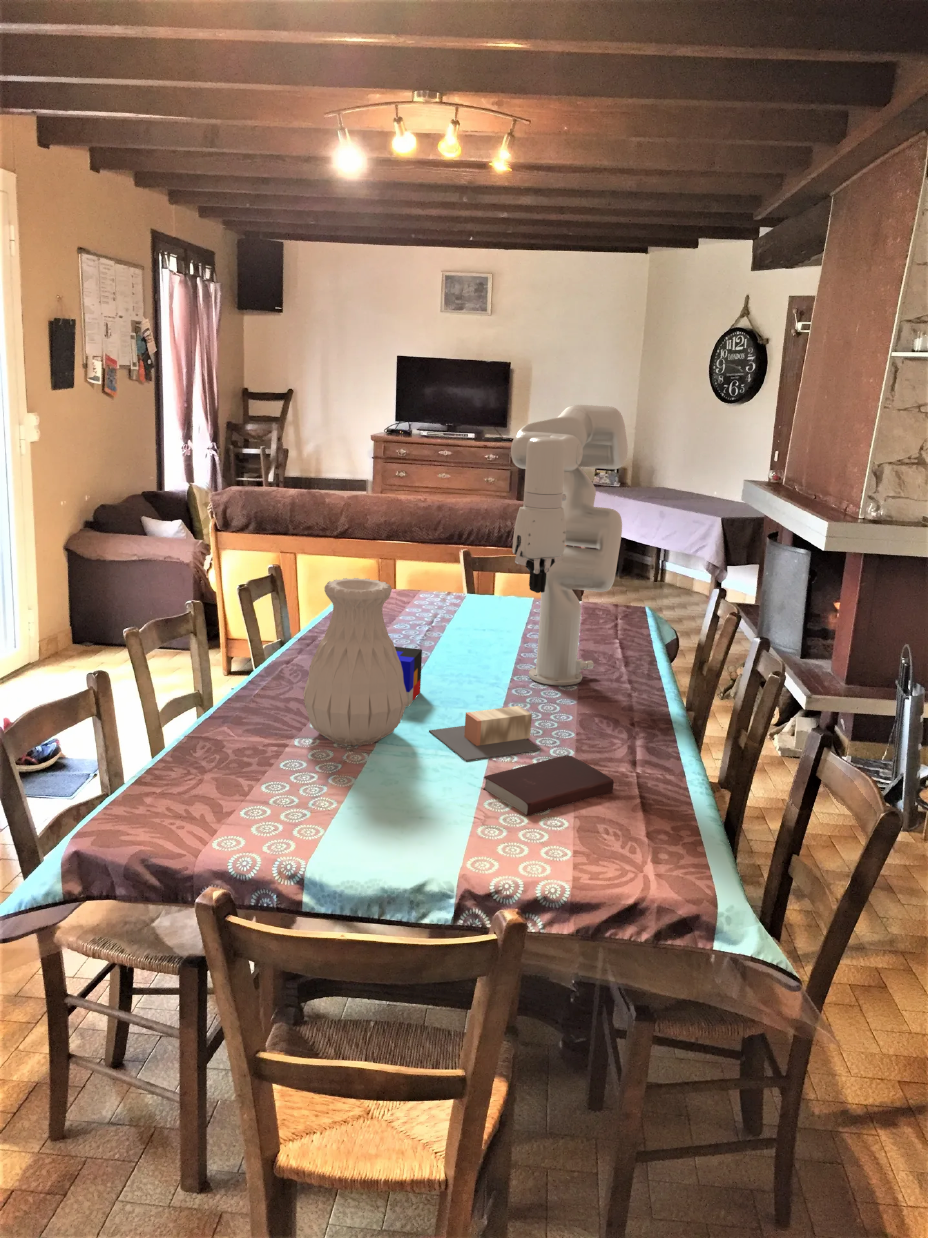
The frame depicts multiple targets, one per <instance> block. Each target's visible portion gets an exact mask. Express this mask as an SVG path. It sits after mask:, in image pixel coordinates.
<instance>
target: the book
mask: <svg viewBox="0 0 928 1238" xmlns="http://www.w3.org/2000/svg"><path fill="white" fill-rule="evenodd" d="M483 779H485V783H484V787H483V788H482V791H486V790H487V791H486V792H488V793H490V794H492V796H495V797H497V798H498V799H500V800H501V801H503V802H505V803H507V804H508V805H510V806H511V807H514V808H515V809H517V810H518V811H520V812H521V813H523V814H525V816H527V817H528V816H532V815H535V814H539V813H542V812H545V811H548V810H553V809H556V808H560V807H562V806H566V805H567V806H568V805H570V804H573V803H577V802H582V801H584V800H588V799H592V798H595V797H599V796H603V795H607V794H611V793H613V791H614V785H615V784H614V783H615V782H614V779H613V778H611V777H610V776H608V775H607V774H605V773H604V772H601V771H600V770H598V769H596V768H595V767H593V766H592V765H590V764H589V763H588V764H587V763H585V762H584V761H582V760H580V759H578V758H577V757H574V756H572V755H569V754H566V755H561V756H556V757H552V758H548V759H546V760H541V761H537V762H534V763H531V764H530V763H529V764H526V765H523V766H519V767H515V768H510V769H507V770H502V771H499V772H495V773H491V774H489V775H484V777H483Z"/></svg>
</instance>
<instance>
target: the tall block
mask: <svg viewBox="0 0 928 1238" xmlns="http://www.w3.org/2000/svg"><path fill="white" fill-rule="evenodd" d="M532 716H533V715H532V713H531V712H529V711H528V710H526V709H525V708H523V707H522V706H520V705H515V706H507V707H499V708H493V709H485V710H484V709H483V710H475V711H469V712H465V717H464V718H465V722H464V726H465V735H464V737H465V738H467V739H468V740H469V741H471V742H472V743H473V744H475V745H476V746H478V745H485V744H492V743H499V742H506V741H513V740H520V739H527V740H528V739H530V738H531V731H532V720H533V718H532Z"/></svg>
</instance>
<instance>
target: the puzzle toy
mask: <svg viewBox="0 0 928 1238" xmlns="http://www.w3.org/2000/svg"><path fill="white" fill-rule="evenodd" d="M395 649H396V652H397V655H398V657H399V660H400V662H401V666H402V670H403V680H404V685H405V688H406V693H407V697H408V701H407V704H406V707H408V706H409V705H410V706H411V705H412V703H413V702H414V701H415V700H416V699H417V697H418V696H417V695H418V694H419V695H420V693H421V683H422V682H421V681H422V680H421V679H422V664H423V663H422V658H423V649H421V648H413V647H401V646H395ZM416 696H417V697H416ZM413 700H414V701H413ZM412 701H413V702H412ZM410 706H409V707H410Z"/></svg>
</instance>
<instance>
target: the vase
mask: <svg viewBox="0 0 928 1238" xmlns="http://www.w3.org/2000/svg"><path fill="white" fill-rule="evenodd" d="M324 593H325V596H327V598H328V599H329V601H330V602H331V604H332V605H333V606H332V607H333V608H332V614H331V619H330V621H329V624H328V626H327V629H326V630H325V634H324V636H323V637H322V638H321V640H320V642H319V643H318V646H317V648H316V651H315V653H314V655H313V657H312V659H311V662H310V665H309V671H308V678H307V680H306V683H305V687H304V691H303V694H302V696H303V702H304V707H305V709H306V713H307V714H306V715H307V716H308V720H309V723H310V724H311V726H312V729H314V730H315V731H316V732H317V733H319V734H320V735H322V736H324V737H326V739H328V740H329V741H330V742H333V743H336V744H338V745H340V744H341V745H342V746H345V745H346V746H353V747H354V746H364V745H371V744H374V743H377V742H379V741H380V740H381V739H383V738H385V737H387V736H389V735H391V734H392V733H393V732H394V731H395V730H396V729H397V728H398V726H399V725H400V723H401V722H402V721H401V720H402V718H403V716H404V713H405V711H406V707H407V706H406V704H407V701H408V697H407V693H406V688H405V685H404V680H403V670H402V666H401V662H400V660H399V657H398V655H397V652H396V649H395V647H396V646H395V644H394V642H393V640H392V639H391V637H390V635H389V633H388V629H387V627H386V624H385V620H384V615H383V608H384V607H383V606H384V605H385V603H386V602H387V601H388V600H389V598H390V596H391V593H392V586H391V585H390V584H388V582H385V581H380V580H378V579H370V578H359V577H354V578H347V577H346V578H342V579H337V578H336V579H333V581H327V583H326V584H325V586H324Z"/></svg>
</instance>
